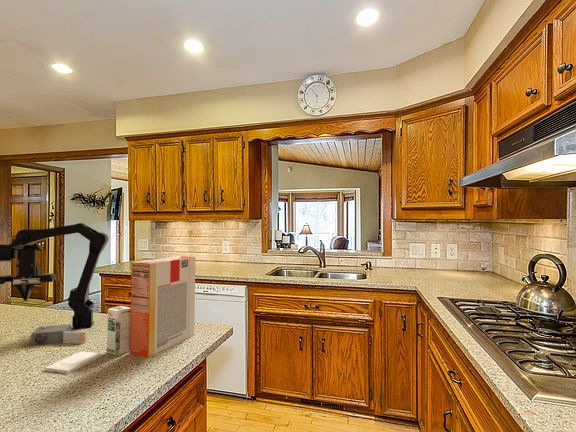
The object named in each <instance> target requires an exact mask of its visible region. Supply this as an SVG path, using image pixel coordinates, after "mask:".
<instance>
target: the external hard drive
mask: <svg viewBox="0 0 576 432" xmlns="http://www.w3.org/2000/svg"><path fill="white" fill-rule="evenodd" d="M101 357H102V354H101V353H100V352H99V353H98V352H90V351H84V350H83V351H82V350H80V351H78V352H76V353H74V354H71V355H69V356H68V357H64V358H63V359H61V360H59V361H57V362H55V363H53V364H51V365H47V366H46V367H44V369H43V371H45V372H51V373H59V374H67V375H68V374H70V373H72V372H74V371H76V370H78V369H80V368H82V367H83V366H86V365H87V364H89V363H91V362H93V361H95V360H97V359H99V358H101Z"/></svg>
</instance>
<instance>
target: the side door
mask: <svg viewBox="0 0 576 432" xmlns="http://www.w3.org/2000/svg"><path fill="white" fill-rule="evenodd" d="M86 342H87V331H71V332H65V331H62V332H61V342H60V343H86Z"/></svg>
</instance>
